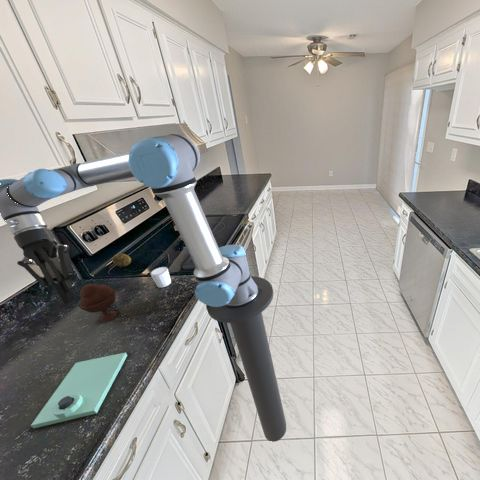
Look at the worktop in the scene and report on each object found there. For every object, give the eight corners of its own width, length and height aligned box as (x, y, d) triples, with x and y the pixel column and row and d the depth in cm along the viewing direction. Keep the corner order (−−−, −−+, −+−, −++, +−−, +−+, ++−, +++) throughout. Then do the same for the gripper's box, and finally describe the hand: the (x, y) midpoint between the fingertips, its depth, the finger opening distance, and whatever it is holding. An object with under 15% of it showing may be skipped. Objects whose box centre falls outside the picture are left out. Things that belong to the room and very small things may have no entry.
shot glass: (152, 287, 113) (146, 274, 110) (164, 278, 119) (159, 265, 115) (163, 289, 111) (158, 276, 108) (176, 280, 117) (171, 267, 113)
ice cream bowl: (89, 332, 91) (67, 299, 84) (93, 314, 99) (73, 283, 92) (124, 319, 96) (106, 287, 89) (125, 303, 104) (109, 273, 97)
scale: (127, 355, 81) (123, 348, 79) (96, 413, 65) (91, 406, 64) (78, 365, 78) (73, 359, 77) (33, 428, 63) (26, 422, 61)
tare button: (75, 398, 66) (72, 394, 66) (69, 407, 64) (66, 404, 63) (65, 400, 66) (61, 397, 65) (58, 410, 64) (55, 406, 63)
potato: (136, 257, 138) (130, 245, 134) (131, 269, 127) (125, 256, 124) (119, 261, 135) (112, 248, 132) (112, 274, 125) (104, 260, 121)
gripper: (-7, 241, 71) (37, 315, 73) (43, 222, 73) (83, 295, 75) (19, 239, 78) (58, 307, 81) (64, 223, 80) (100, 289, 83)
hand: (70, 301), depth 78 cm, fingers closed
